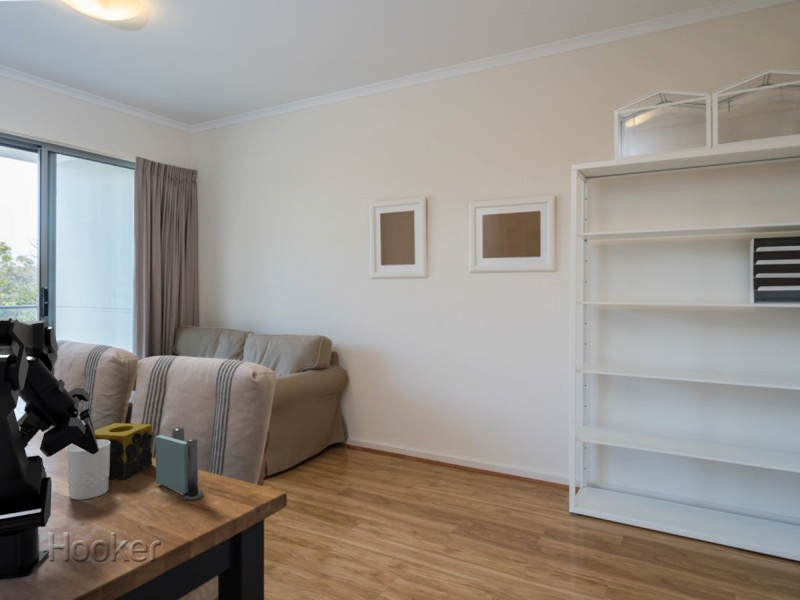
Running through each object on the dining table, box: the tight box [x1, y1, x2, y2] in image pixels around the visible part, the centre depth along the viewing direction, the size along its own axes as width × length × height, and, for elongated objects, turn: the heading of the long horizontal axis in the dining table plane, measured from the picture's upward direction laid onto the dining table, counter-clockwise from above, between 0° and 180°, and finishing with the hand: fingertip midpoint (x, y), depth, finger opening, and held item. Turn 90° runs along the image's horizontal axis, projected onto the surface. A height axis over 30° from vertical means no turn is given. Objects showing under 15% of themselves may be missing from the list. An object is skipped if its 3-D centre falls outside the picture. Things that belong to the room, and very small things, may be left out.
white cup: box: [64, 439, 110, 501], centre depth 103 cm, size 8×8×10 cm
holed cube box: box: [94, 422, 153, 481], centre depth 115 cm, size 10×10×10 cm
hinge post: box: [181, 438, 204, 502], centre depth 101 cm, size 4×4×12 cm
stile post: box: [171, 426, 185, 441], centre depth 109 cm, size 3×3×12 cm
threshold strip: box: [169, 488, 185, 495], centre depth 105 cm, size 10×2×1 cm, turn 50°
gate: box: [155, 434, 188, 493], centre depth 104 cm, size 10×1×10 cm, turn 57°
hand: (96, 452), depth 93 cm, fingers closed
